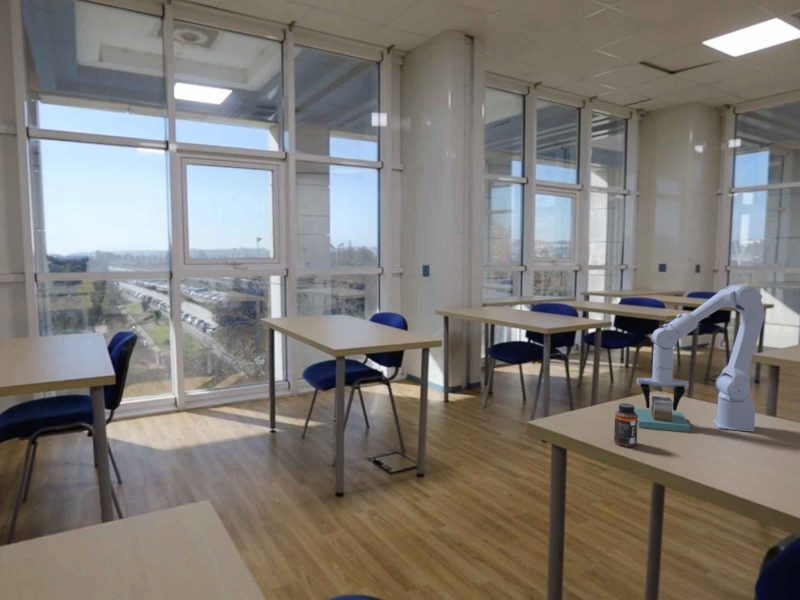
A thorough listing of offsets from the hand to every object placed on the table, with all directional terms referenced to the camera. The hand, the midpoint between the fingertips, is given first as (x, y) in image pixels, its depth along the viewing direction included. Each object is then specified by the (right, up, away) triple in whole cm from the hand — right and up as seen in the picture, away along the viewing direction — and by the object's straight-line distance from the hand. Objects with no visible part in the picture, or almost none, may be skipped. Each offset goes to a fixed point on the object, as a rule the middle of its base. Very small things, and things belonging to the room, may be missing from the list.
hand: (661, 408), depth 164 cm
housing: (0, -3, 0) cm, 3 cm away
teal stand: (0, -5, 0) cm, 5 cm away
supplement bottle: (-19, -7, -17) cm, 26 cm away
